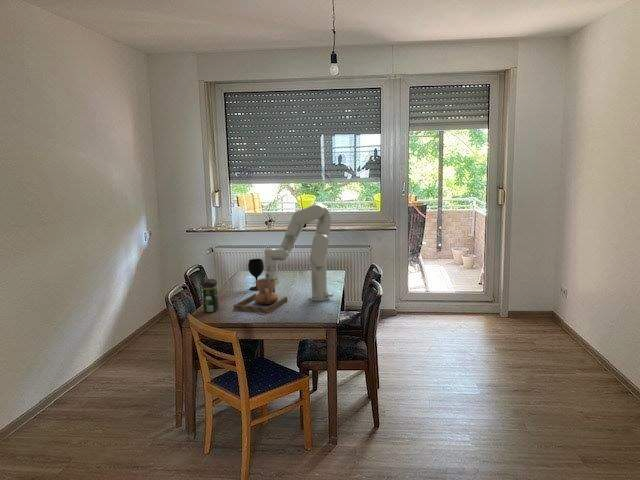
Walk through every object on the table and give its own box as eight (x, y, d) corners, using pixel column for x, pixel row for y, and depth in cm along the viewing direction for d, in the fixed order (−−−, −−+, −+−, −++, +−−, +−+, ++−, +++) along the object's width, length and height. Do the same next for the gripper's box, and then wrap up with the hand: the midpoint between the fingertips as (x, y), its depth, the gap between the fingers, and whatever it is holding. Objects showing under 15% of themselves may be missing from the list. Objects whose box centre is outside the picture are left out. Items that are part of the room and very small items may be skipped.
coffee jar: (207, 308, 299) (205, 277, 296) (220, 308, 298) (218, 277, 295) (201, 312, 289) (199, 281, 286) (215, 313, 288) (213, 281, 285)
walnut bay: (287, 301, 308) (287, 296, 307) (268, 313, 285) (268, 308, 284) (254, 298, 316) (254, 294, 316) (233, 309, 293) (233, 305, 293)
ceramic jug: (254, 299, 313) (253, 277, 311) (277, 298, 315) (276, 276, 313) (254, 308, 296) (253, 285, 293) (279, 306, 298) (277, 283, 295)
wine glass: (261, 290, 334) (260, 261, 331) (247, 290, 336) (245, 261, 333) (266, 287, 344) (265, 258, 341) (252, 286, 346) (250, 258, 343)
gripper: (270, 271, 303) (272, 300, 306) (281, 265, 316) (282, 293, 319) (260, 270, 306) (261, 299, 309) (271, 265, 319) (272, 292, 322)
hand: (272, 296), depth 314 cm, fingers closed
